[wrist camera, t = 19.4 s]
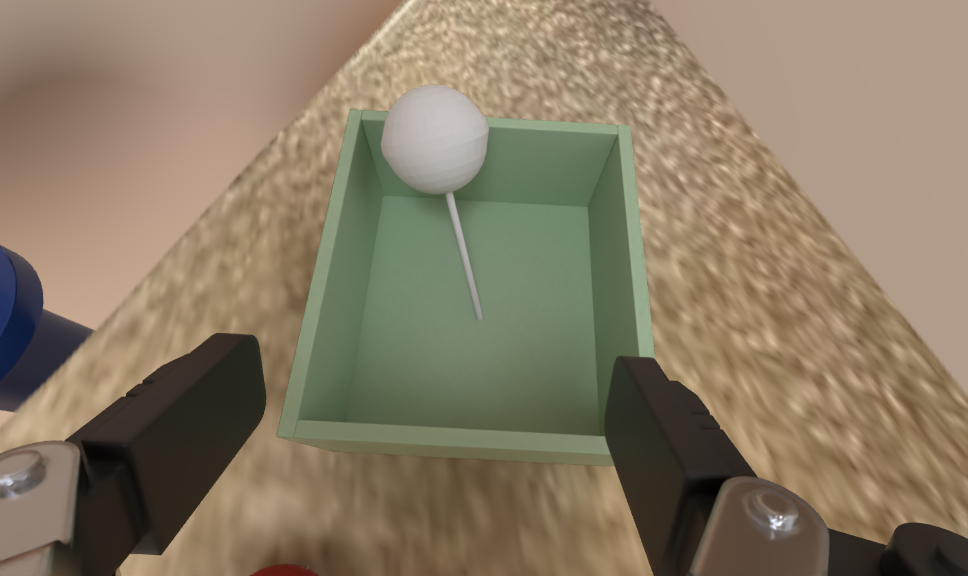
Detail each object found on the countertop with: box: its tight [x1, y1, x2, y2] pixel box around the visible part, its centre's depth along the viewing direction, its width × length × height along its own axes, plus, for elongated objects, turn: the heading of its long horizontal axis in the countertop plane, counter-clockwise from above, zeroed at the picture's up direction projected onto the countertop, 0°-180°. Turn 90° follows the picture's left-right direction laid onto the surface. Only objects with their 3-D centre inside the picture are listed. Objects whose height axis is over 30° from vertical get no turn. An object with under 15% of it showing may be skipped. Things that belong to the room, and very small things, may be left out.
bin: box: [277, 109, 655, 466], centre depth 28 cm, size 18×20×9 cm
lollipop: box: [381, 84, 489, 320], centre depth 28 cm, size 6×6×15 cm
